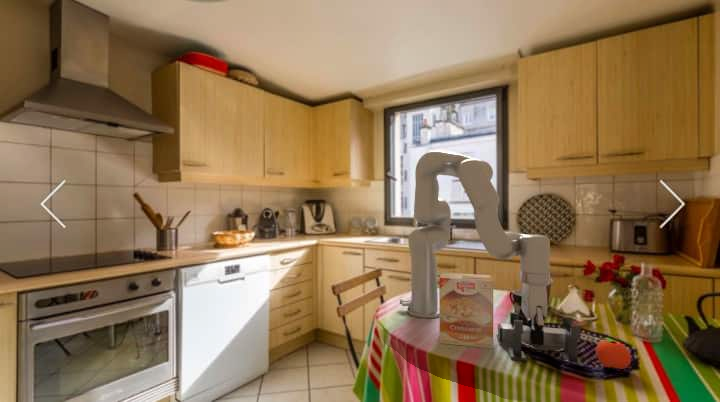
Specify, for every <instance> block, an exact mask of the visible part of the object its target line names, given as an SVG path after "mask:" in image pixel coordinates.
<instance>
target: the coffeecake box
mask: <svg viewBox="0 0 720 402" xmlns="http://www.w3.org/2000/svg"><path fill="white" fill-rule="evenodd" d="M438 281H439V284H438V287H439V288H438V291H439V293H438V295H439V297H438V301H439V306H438V307H439V316H438V319H439V321H438V322H439V324H438V325H439V328H438V329H439V331H438V333H439V344H446V345H453V346H455V345H456V346H457V345H458V346H465V347H475V348H482V349H492V350H493V349H494V280H493V277H492V275H491V274H476V273H473V274H472V273H457V272H455V273H454V272H440V273H439V280H438Z"/></svg>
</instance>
